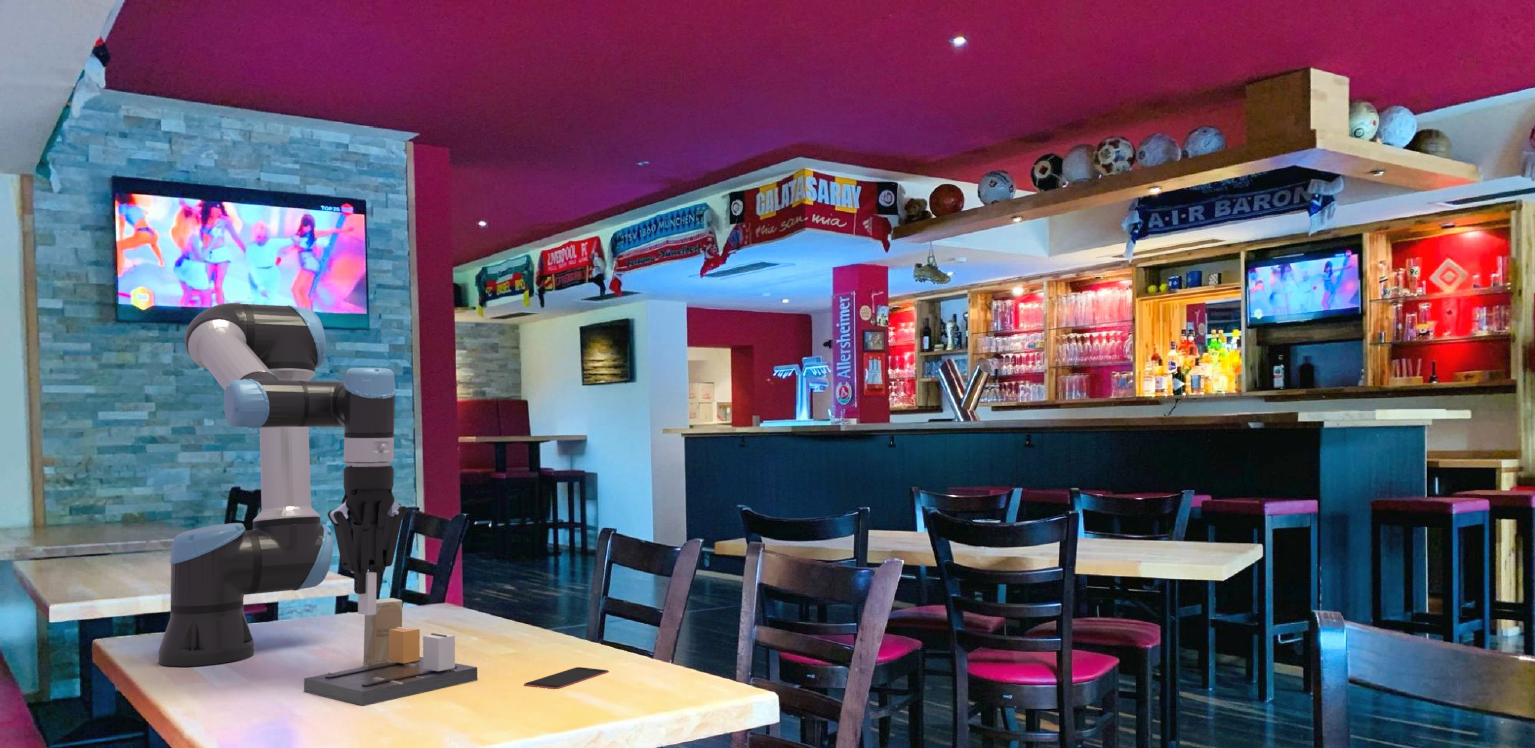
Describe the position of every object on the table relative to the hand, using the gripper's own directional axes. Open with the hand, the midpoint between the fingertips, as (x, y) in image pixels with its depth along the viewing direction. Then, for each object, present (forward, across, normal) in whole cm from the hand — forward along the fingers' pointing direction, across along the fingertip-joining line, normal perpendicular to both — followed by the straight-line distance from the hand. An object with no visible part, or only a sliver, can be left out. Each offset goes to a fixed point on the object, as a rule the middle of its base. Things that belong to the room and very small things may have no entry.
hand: (367, 613), depth 174 cm
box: (+11, +9, +9) cm, 17 cm away
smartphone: (+11, +20, -25) cm, 34 cm away
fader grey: (+8, +6, -11) cm, 15 cm away
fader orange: (+8, +6, -1) cm, 11 cm away
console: (+11, +1, -6) cm, 12 cm away
